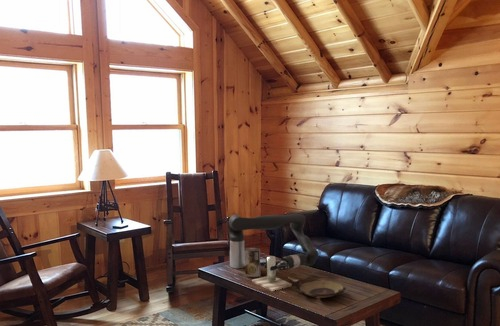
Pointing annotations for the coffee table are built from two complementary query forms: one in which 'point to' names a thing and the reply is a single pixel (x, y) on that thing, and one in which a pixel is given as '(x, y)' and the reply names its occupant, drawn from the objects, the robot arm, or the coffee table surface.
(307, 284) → the oil lamp
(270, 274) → the metal tin
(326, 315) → the coffee table surface
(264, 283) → the ash board
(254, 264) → the coffee box
